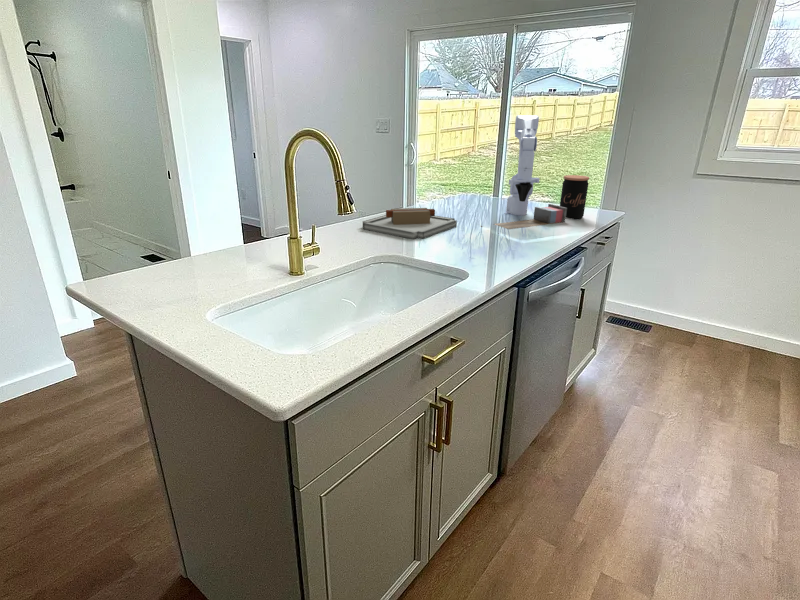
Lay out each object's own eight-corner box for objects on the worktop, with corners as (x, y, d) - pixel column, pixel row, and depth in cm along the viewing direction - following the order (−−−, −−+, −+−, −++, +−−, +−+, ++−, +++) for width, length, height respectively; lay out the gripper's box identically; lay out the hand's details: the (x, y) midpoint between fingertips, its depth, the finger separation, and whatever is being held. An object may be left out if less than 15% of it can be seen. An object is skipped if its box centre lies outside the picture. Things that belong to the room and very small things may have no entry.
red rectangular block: (542, 218, 203) (543, 207, 201) (548, 217, 204) (549, 206, 202) (555, 222, 196) (556, 210, 194) (561, 221, 198) (563, 210, 196)
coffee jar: (558, 219, 207) (563, 177, 200) (558, 214, 216) (563, 174, 209) (583, 220, 204) (590, 178, 197) (582, 215, 213) (588, 175, 206)
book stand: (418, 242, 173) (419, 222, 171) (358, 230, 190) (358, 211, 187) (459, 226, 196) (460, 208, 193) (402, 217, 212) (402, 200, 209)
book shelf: (493, 226, 194) (494, 209, 191) (548, 219, 206) (550, 203, 203) (508, 231, 186) (509, 214, 183) (565, 224, 198) (567, 207, 195)
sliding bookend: (533, 219, 201) (534, 207, 199) (535, 218, 202) (536, 206, 200) (547, 223, 194) (549, 210, 192) (549, 223, 194) (551, 210, 192)
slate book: (535, 219, 201) (537, 208, 200) (542, 218, 203) (543, 207, 201) (548, 223, 195) (550, 211, 193) (555, 222, 196) (556, 210, 194)
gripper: (517, 169, 184) (514, 204, 190) (546, 168, 190) (542, 201, 196) (506, 167, 190) (503, 201, 196) (534, 166, 196) (530, 198, 201)
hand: (522, 201), depth 196 cm, fingers closed
